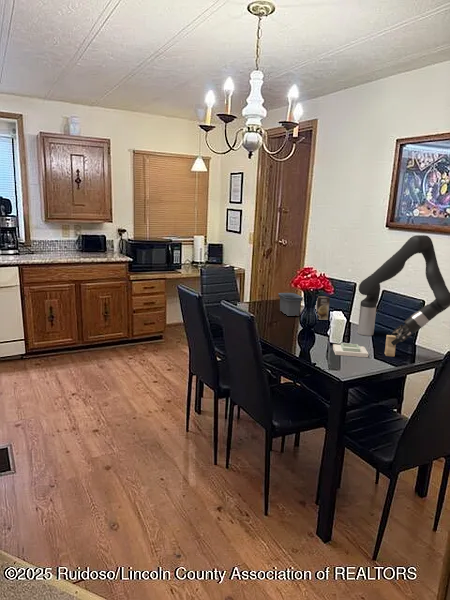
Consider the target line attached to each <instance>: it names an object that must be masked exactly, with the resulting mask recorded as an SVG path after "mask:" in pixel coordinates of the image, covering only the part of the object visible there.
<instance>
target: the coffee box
mask: <svg viewBox="0 0 450 600" xmlns="http://www.w3.org/2000/svg"><path fill="white" fill-rule="evenodd" d="M317 296H318V298H317V301H316V305H315V309H316V312H317V315H318V319H319V320H329V311H330V300H331V297H329V296H327V295H317Z"/></svg>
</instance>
